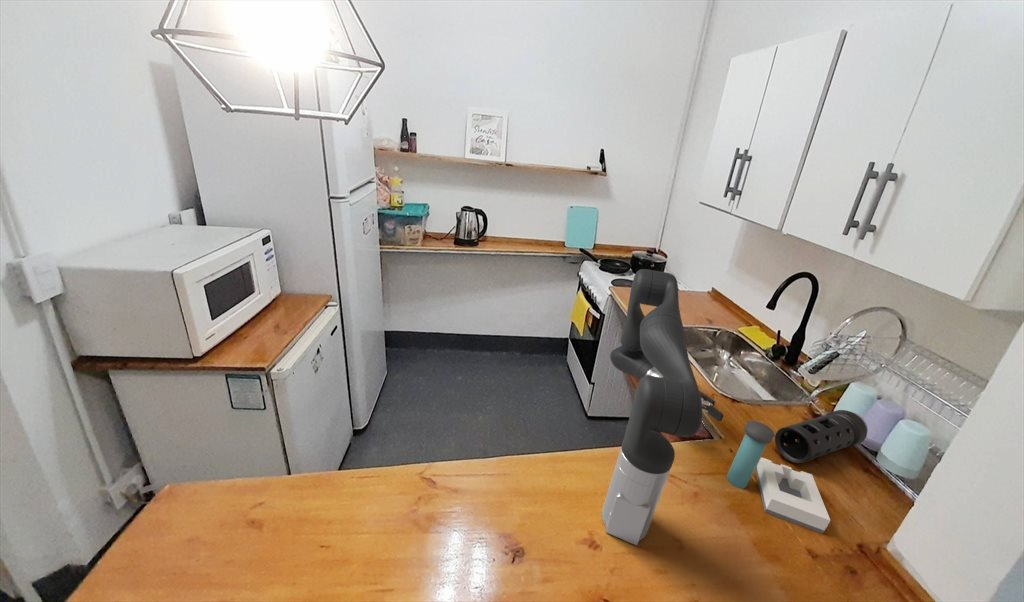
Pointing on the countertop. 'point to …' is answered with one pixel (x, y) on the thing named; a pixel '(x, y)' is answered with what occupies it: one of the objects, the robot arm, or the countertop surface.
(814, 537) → the countertop surface
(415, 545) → the countertop surface
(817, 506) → the keyhole plate
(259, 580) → the countertop surface
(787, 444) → the muzzle brake
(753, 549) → the countertop surface
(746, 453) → the peg
